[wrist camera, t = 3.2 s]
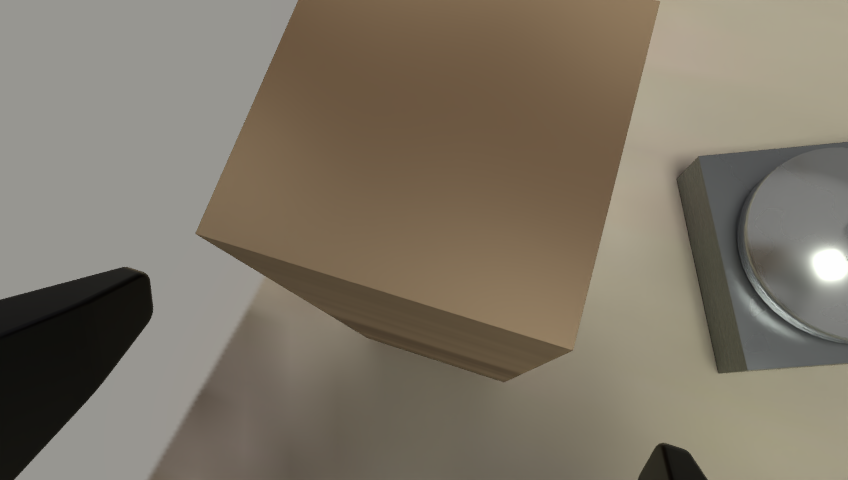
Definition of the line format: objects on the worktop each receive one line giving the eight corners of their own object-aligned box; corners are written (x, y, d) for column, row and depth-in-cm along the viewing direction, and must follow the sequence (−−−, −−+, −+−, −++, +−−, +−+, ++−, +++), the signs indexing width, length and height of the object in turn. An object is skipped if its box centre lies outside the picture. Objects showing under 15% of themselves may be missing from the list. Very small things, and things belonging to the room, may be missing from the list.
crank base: (718, 373, 18) (747, 370, 17) (676, 179, 20) (698, 156, 19) (937, 357, 18) (993, 351, 16) (873, 160, 20) (916, 135, 18)
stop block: (504, 382, 19) (572, 351, 6) (367, 337, 20) (195, 233, 7) (541, 247, 20) (660, 1, 8) (411, 210, 21) (328, -67, 8)
